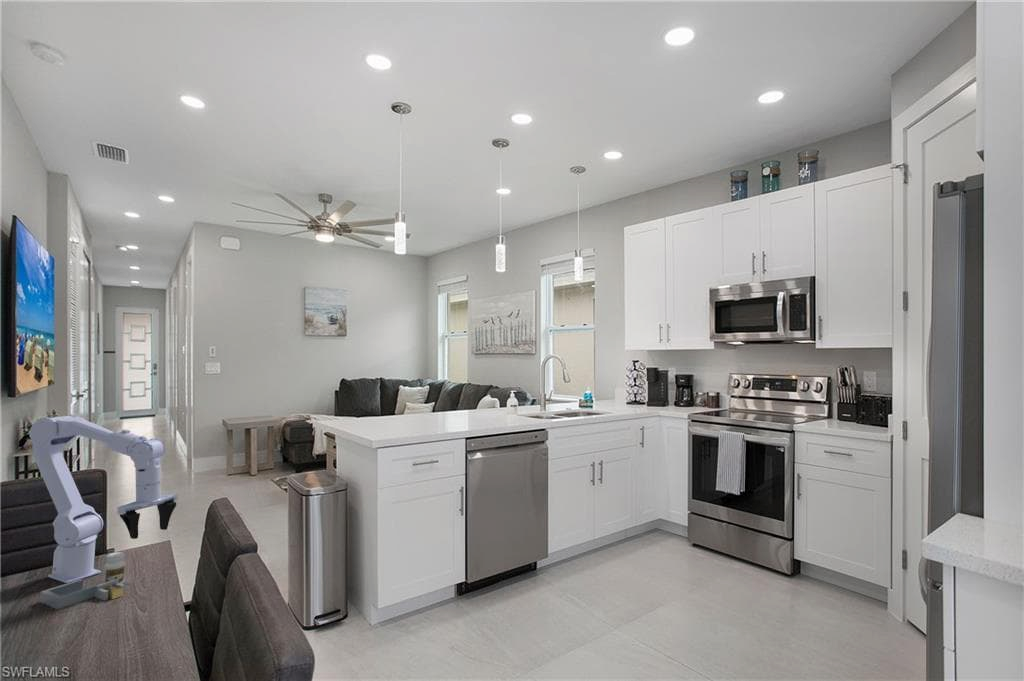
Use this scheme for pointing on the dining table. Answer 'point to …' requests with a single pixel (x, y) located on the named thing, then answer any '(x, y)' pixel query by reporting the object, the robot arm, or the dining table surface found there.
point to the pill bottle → (114, 567)
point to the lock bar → (114, 591)
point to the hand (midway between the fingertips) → (149, 533)
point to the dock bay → (76, 593)
